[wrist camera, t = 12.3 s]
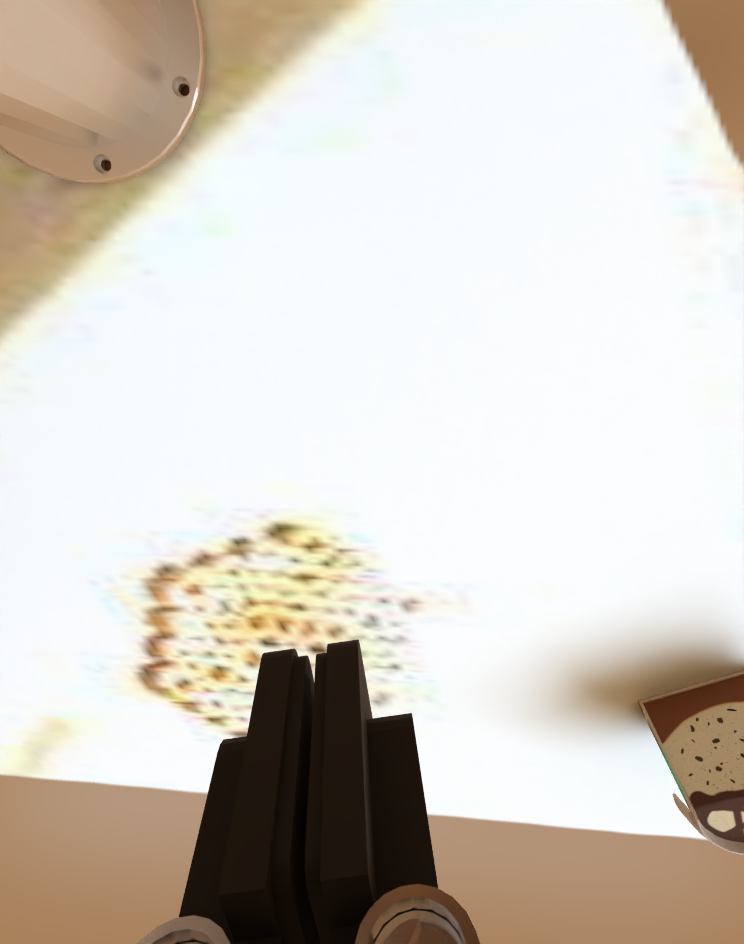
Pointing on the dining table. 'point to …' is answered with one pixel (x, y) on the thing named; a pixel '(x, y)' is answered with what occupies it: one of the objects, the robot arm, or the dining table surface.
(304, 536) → the dining table surface
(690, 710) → the food container
